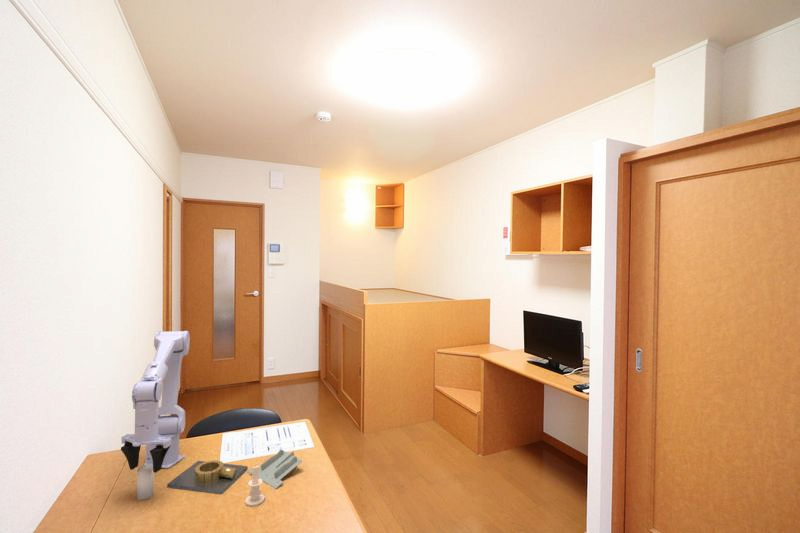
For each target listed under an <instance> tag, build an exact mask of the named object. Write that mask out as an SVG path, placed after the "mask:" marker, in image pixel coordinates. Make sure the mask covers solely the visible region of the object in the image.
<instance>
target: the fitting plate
mask: <svg viewBox="0 0 800 533" xmlns="http://www.w3.org/2000/svg"><path fill="white" fill-rule="evenodd" d="M248 467H249V466H247V465H239V464H229V463H224V462H222V461H221V460H216V459H213V460H207V461H204V460H197V461H196V462H194V463H193V464H192V465H191V466H189V467H188V468H187V469H185V470H184V471H183V472H181V473H180V474H178V475H177V476H175V478H173V479H172V480H171V481H169V482H168V483H167V484H166V487H167V488H170V489H178V490H187V491H194V492H195V491H196V492H201V493H210V494H219V495H223V494H224V493H225V492H226V491H227V490H228V489H229V488H230V487H232V485H233V484H234V483H236V481H237V480H238V479H239V478H240V477H241V476H242V475H243V474H244V473H245V472H246V471H247V470H248Z"/></svg>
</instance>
